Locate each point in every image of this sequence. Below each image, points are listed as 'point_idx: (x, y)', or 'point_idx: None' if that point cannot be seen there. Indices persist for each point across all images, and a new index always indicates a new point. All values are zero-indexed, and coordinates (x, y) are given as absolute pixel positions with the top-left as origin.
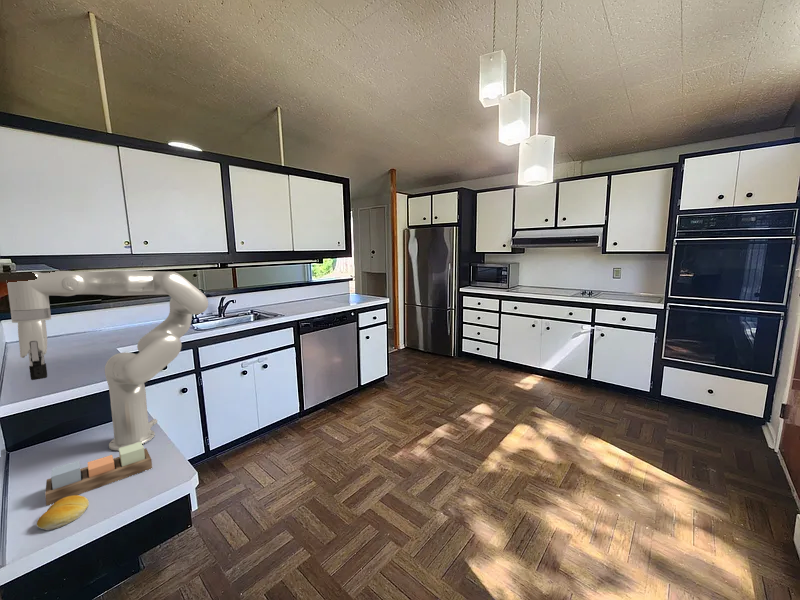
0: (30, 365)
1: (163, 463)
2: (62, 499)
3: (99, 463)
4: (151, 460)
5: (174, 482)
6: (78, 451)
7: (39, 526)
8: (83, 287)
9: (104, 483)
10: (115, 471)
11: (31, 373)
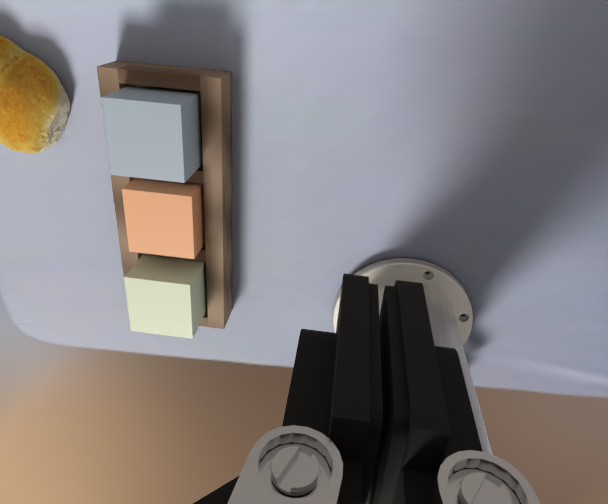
0: (255, 452)
1: None
2: (4, 104)
3: (150, 220)
4: None
5: (25, 308)
6: (495, 182)
7: None
8: None
9: None
10: (119, 237)
11: (341, 336)
